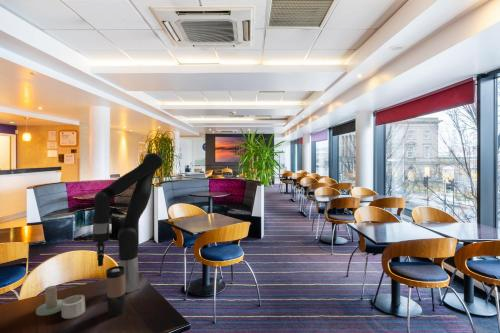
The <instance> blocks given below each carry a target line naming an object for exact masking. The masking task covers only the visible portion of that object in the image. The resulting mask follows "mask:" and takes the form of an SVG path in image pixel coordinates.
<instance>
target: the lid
mask: <svg viewBox="0 0 500 333" xmlns="http://www.w3.org/2000/svg"><path fill="white" fill-rule="evenodd" d="M57 288H58V287H57V285H48V286H47V287H45V288H44V292H45V295H44V296H45V302H44V303H42V304H40V305H39V306H38V307H36V309H35V314H36V315H37V316H42V317H44V316H50V315H54V314H56V313H58V312H61V302H62V301H63V300H64V299H58V289H57Z"/></svg>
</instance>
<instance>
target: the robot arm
mask: <svg viewBox="0 0 500 333" xmlns="http://www.w3.org/2000/svg"><path fill="white" fill-rule="evenodd" d="M163 160H164V159H163V157H162V155H160V154H158V153H155V152H152V153H150V152H149V153H147V154H145V156H144V158H143V160H142V162H141V163H140V164H139V165H138V166H136V167H135V168H133V169H132V170H130V171H128V172H127V173H125V174H123V175H122V176H120V177H119V178H117V179H115V181H113V182H112V183H111V184H109V185H108V186H106V187H105V188H102V189H101V190H99V191H98V192H96V194H95V195H94V197H93V200H94V202H93V203H94V204H93V205H94V212H93V223H92V235H91V236H92V238H91V239H92V242H93V243H96V244H95V249H96V255H97V256H96V257H97V259H96V260H97V266H98V267H102V266H104V258H105V252H106V251H105V249H106V243H105V242H107V241H109V240H110V210H111V209H110V207H111V200H113V199H114V198H115V197H116V196H117V197H118V196H119V195H121V194H123V193H125V191H127V190H128V189H129V188H130V187H132V186H133V185H134V184H135V186H134V188H133V191H132V193H131V196H130V200H129V203H128V207H127V210H126V215H125V217H124V219H123V222H122V223H121V226H120V229H119V230H118V233H117V240H118V266H123V267H124V272H125V294H127V293H128V294H129V293H132V292H136V291H137V290H139V289H140V270H139V262H138V261H139V259H138V258H139V237H138V232H137V227H138V224H139V220H140V218H141V217H142V215H143V213H144V212H145V210H146V208H147V206H148V203H149V200H150V198H151V195H152V190H153V188H152V187H153V181H154V180H153V179H154V176H155V174H156V172H157V170H159V169H160V168H161V167H162V166H163V163H164V161H163Z"/></svg>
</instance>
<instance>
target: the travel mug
mask: <svg viewBox="0 0 500 333" xmlns="http://www.w3.org/2000/svg"><path fill="white" fill-rule="evenodd" d="M105 273H106V275H105V277H106V302H107V314H108V316H109V315H110V317H117V316H120V315H123V314H124V313H125V311H126V293H125V272H124V267H123V266H119V265H116V266H112V267H109V268H107V269H106V271H105Z"/></svg>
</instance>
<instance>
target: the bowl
mask: <svg viewBox="0 0 500 333" xmlns="http://www.w3.org/2000/svg"><path fill="white" fill-rule="evenodd" d="M85 296H86V295H83V294H74V295H71V296H68V297H66V298H64V299H62V300H63V301H62V302H61V311H60V312H61V318H63V319H69V320H70V319H73V318H76V317H79V316H80V315H81V316H82V315H83V314H84V313H85V312H86V298H85Z"/></svg>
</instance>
